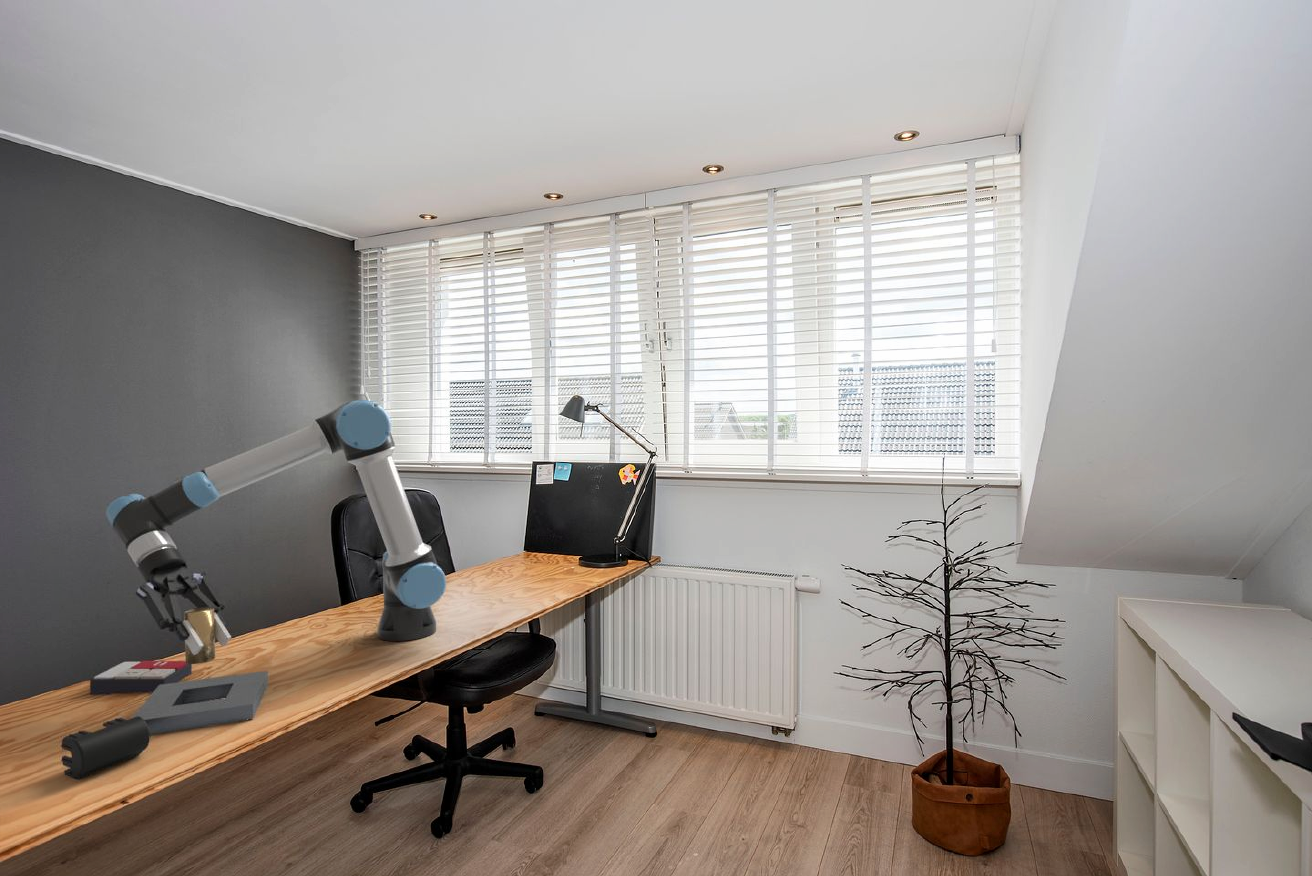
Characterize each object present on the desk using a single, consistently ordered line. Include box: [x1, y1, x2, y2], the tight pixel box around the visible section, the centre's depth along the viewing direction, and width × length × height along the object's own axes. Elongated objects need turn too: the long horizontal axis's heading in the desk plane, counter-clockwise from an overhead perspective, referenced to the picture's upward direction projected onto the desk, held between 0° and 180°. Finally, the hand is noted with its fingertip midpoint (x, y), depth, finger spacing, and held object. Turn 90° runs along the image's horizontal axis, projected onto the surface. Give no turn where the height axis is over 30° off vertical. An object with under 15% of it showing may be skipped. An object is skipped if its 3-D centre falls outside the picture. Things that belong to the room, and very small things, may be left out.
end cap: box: [60, 716, 151, 780], centre depth 116 cm, size 10×7×7 cm
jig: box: [131, 670, 269, 736], centre depth 140 cm, size 20×20×3 cm
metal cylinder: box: [183, 607, 216, 665], centre depth 139 cm, size 5×5×10 cm
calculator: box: [89, 660, 193, 696], centre depth 154 cm, size 11×4×15 cm
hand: (212, 645), depth 138 cm, fingers closed on metal cylinder, 5 cm apart
